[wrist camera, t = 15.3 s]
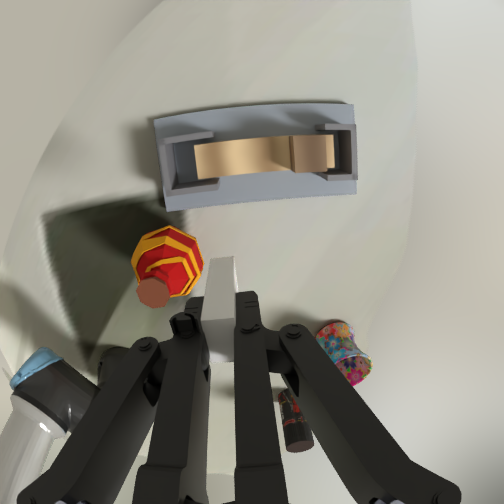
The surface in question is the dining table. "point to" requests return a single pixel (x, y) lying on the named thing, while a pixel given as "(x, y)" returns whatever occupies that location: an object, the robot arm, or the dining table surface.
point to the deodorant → (294, 424)
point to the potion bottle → (166, 265)
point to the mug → (345, 351)
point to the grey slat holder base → (254, 126)
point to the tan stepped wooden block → (265, 155)
